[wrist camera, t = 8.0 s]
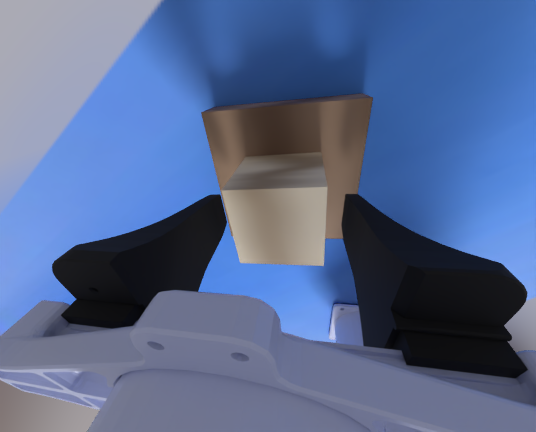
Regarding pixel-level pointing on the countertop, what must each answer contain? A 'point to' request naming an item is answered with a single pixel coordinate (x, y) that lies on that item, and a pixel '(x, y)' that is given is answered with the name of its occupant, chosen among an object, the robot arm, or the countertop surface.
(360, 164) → the walnut block
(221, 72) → the countertop surface
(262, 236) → the maple cube
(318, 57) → the countertop surface
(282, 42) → the countertop surface
